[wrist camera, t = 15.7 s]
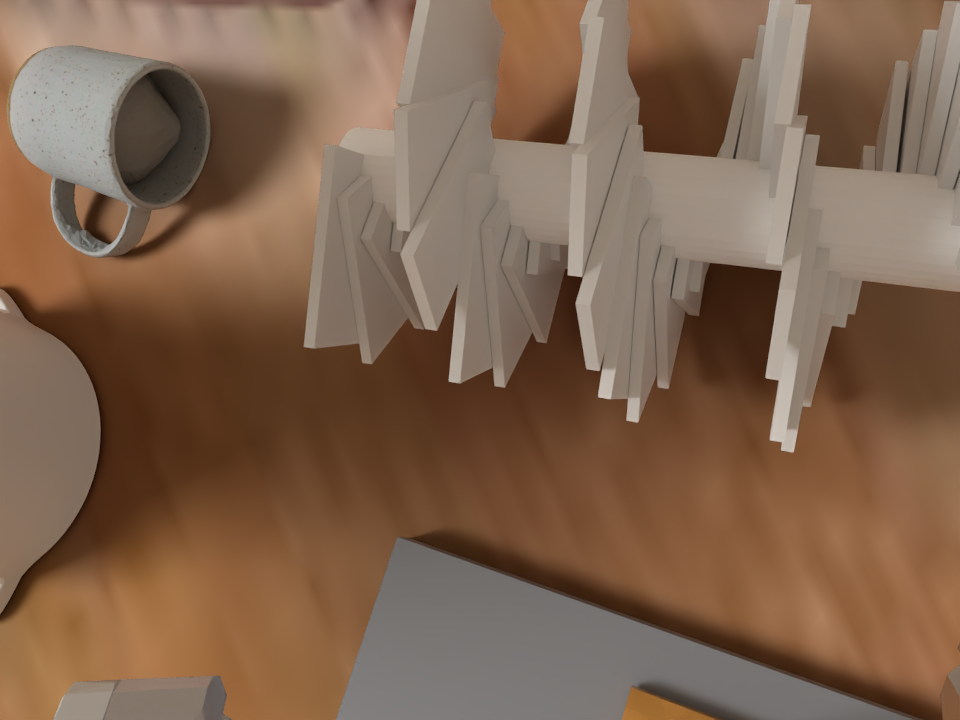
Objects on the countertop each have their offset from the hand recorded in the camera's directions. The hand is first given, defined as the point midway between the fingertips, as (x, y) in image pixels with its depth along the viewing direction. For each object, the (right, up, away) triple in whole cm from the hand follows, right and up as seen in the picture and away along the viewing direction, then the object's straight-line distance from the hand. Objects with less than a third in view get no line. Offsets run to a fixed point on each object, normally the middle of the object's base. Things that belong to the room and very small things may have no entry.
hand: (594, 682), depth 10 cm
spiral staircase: (+7, +8, +34) cm, 36 cm away
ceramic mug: (-21, +14, +42) cm, 49 cm away
